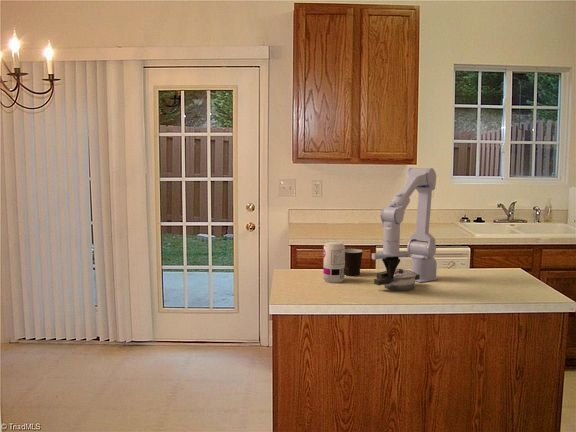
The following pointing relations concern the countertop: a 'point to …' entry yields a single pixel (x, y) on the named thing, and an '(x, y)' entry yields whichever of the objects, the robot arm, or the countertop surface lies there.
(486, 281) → the countertop surface
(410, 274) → the lid
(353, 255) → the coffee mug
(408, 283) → the pot
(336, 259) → the supplement can
